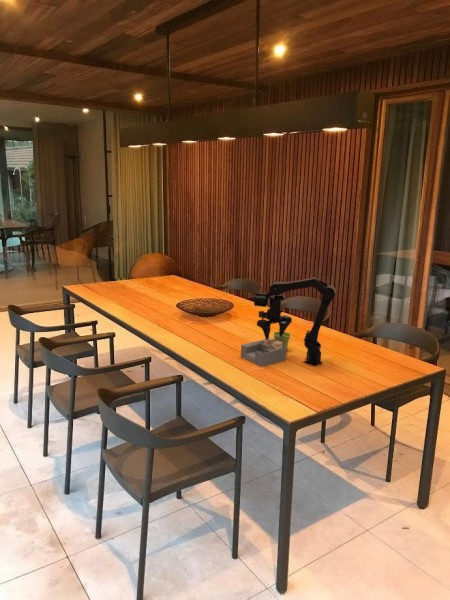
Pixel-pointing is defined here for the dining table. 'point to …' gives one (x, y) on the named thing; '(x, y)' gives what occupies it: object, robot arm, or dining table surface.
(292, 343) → the dining table surface
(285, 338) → the plant pot
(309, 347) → the robot arm
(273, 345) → the maple block
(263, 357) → the jig board
